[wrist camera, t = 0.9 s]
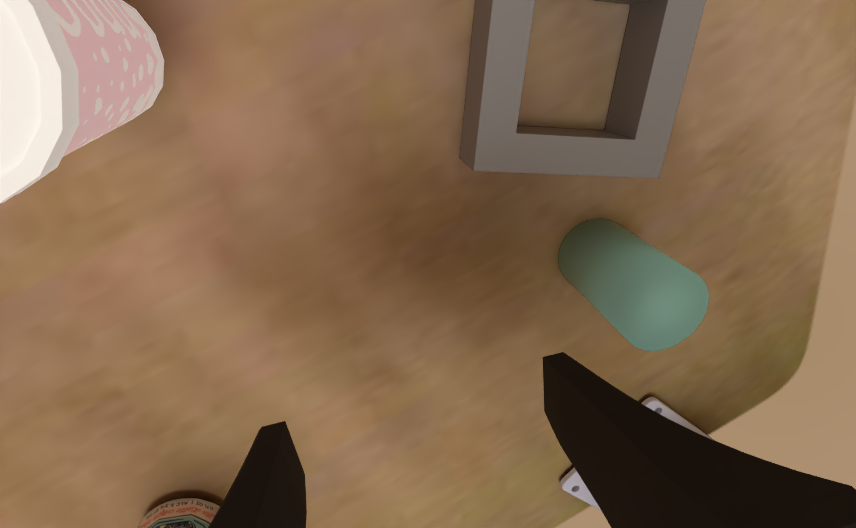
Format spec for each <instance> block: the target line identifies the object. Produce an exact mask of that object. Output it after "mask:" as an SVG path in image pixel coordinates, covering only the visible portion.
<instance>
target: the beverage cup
mask: <svg viewBox="0 0 856 528" xmlns="http://www.w3.org/2000/svg"><path fill="white" fill-rule="evenodd" d="M163 75H164V58H163V56H162V53H161V50H160V47H159V44H158V41H157V38H156V35H155V33H154V32H153V31H152V29H151V28H150V27H149V25H148V24H147V23H146V22H145V20H144V19H143V18H142V17H141V15H140V14H139V13H138V11H137V10H136V9H135V8H133V7H132V6H130V5H129V4H127V3H126V2H124V1H123V0H0V204H1V203H3V202H5V201H7V200H8V199H9V198H11V197H12V196H14V195H16V194H19V193H20V192H22V191H23V190H25V189H26V188H28V187H29V186H31V185H32V184H33V183H35V182H36V181H38V180H39V179H41V178H42V177H44V176H45V175H47V174H48V173H49V172H51V171H52V170H54V169H55V168H57V167H58V165H59V163H60V161H61V159H62V157H63V156H65V155H67V154H69V153H71V152H73V151H75V150H76V149H78V148H80V147H82V146H84V145H86V144H88V143H89V142H91V141H93V140H95V139H97V138H99V137H101V136H102V135H104V134H106V133H108V132H110V131H112V130H114V129H115V128H117V127H119V126H121V125H123V124H125V123H127V122H129V121H130V120H132V119H134V118H135V117H137V116H138V115H140V114H141V113H143V112H144V111H146V110H147V109H148V108H150V107H151V106H152V105H153V103H154V102H155V100H156V98H157V96H158V94H159V92H160V90H161V89H162V87H163Z"/></svg>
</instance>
